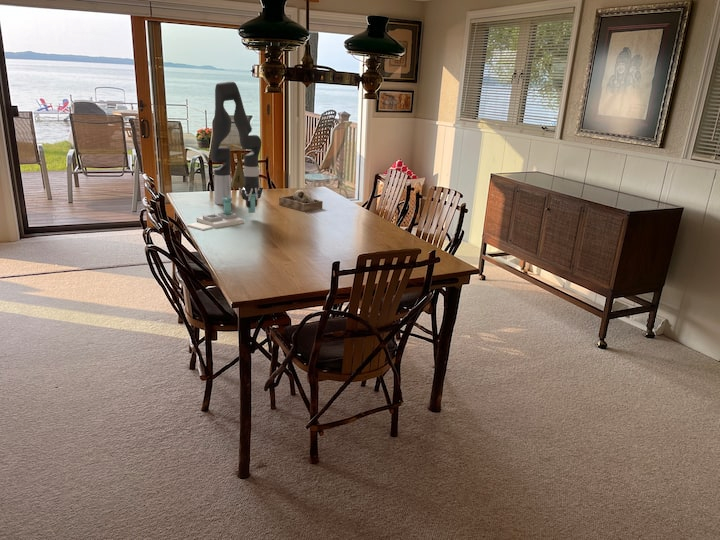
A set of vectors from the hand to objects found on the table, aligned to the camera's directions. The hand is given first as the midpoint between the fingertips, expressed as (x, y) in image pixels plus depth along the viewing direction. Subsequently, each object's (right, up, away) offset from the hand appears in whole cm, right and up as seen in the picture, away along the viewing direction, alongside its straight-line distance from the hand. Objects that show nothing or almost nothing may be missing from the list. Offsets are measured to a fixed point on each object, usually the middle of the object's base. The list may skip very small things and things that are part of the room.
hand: (251, 206), depth 280 cm
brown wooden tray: (+22, +5, +37) cm, 43 cm away
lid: (-22, -12, -18) cm, 31 cm away
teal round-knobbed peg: (0, -3, +1) cm, 3 cm away
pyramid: (-27, +25, +88) cm, 95 cm away
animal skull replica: (+24, +4, +36) cm, 44 cm away
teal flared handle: (-12, -6, -5) cm, 14 cm away
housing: (-15, -9, -7) cm, 19 cm away
